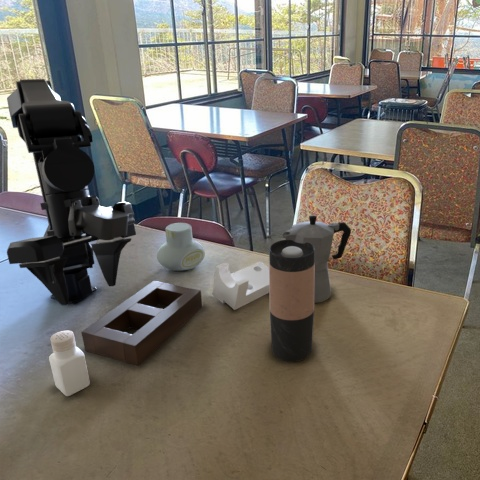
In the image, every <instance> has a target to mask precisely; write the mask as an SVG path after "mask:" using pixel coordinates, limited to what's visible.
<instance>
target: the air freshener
mask: <svg viewBox="0 0 480 480" xmlns="http://www.w3.org/2000/svg"><path fill="white" fill-rule="evenodd" d="M164 230H165V239H166V242H164V243H163V244H162V245H161V246H160V247H159V248H158V250H157V252H156V260H157V262H158V263H159V265H160V266H162V267H163V268H165V269H167V270H170V271H176V272H177V271H178V272H183V271H189V270H193V268H195V267H197V266H198V265H200V264H201V263H202V261H203V260H204V258H205V255H206V254H205V253H206V252H205V248H204V246H203V245H202V244H201V243H200V242H198V241H196V240H194V239H193V229H192V225H191V224H189V223H186V222H175V223H170V224H168V225H167V226H166V227H165V229H164Z"/></svg>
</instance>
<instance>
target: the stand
mask: <svg viewBox="0 0 480 480" xmlns="http://www.w3.org/2000/svg"><path fill="white" fill-rule="evenodd" d="M202 299H203V298H202V290H201V289H195V288H191V287H187V286H183V285H182V286H181V285H176V284H172V283H167V282H162V281H158V280H153V281H151V282H150V283H148V284H147V285H146V286H144V287H142V288H141V289H140V290H138V291H137V292H136V293H134V294H133V295H131V296H130V297H128V298H127V299H125V300H124V301H122V302H121V303H120V304H119V305H117V306H115V307H114V308H113V309H111V310H110V311H109V312H107V313H105V314H104V315H103V316H101V317H100V318H99V319H97V320H96V321H94V322H92V323H91V324H90V325H88V326H87V327H86V328H84V329H83V330H82V331H81V337H82V342H83V347H84V351H85V352H87V353H88V352H89V353H92V354H96V355H98V356H102V357H106V358H110V359H113V360H117V361H121V362H123V363H127V364H131V365H135V366H140V364H142V363H143V362H144V361H145V360H146V359H147V358H148V357H150V356H151V355H152V354H153V352H155V351H156V350H157V349H158V348H160V346H161V345H163V344H164V343H165V342H166V341H167V340H168V339H169V338H170V337H171V336H172V335H174V334H175V333H176V332H177V331H178V330H179V329H180V328H181V327H182V326H183V325H185V324H186V323H187V322H188V321H189V320H190V319H191V318H192V317H193V316H195V315H196V314H197V313H198V312H199V311H201V309H202V308H203V301H202ZM158 306H162V307H165V308H164V309H163V308H159V307H158ZM131 328H132V329H135V330H136V331H135V332H134V333H133V334H132V333H128V332H127V331H128V330H129V329H131Z"/></svg>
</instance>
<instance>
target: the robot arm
mask: <svg viewBox="0 0 480 480" xmlns="http://www.w3.org/2000/svg"><path fill="white" fill-rule="evenodd" d="M15 85H16V89H15V90H14V91H13V92H11V93H10V94H9V95H8V96H7V98H6V101H7V106H8V112H9V117H10V121H11V125H12V128H13V129H16V128H17V132H18V136H19V137H20V139H21V140H22V141H23V142H24V143H25V146H26V149H27V153H28V154H32V156H33V157H32V158H33V160H34V166H35V169H36V170H35V171H36V174H37V178H38V184H39V188H40V192H41V197H42V201H43V202H40V209H41V211H45V214H46V219H47V223H48V225H47V227H46V230H45V232H44V234H43V236H37V237H30V238H26V239H21V240H17V241H12V242H10V243H9V245H8V248H6V249H7V250H6V255H7V259H8V263H9V265H17V264H18V266H19V268H20V269H27V270H28V271H29V272H30V273H31V274H32V275H33V276H34V277H36V278H37V279H38V281H39V282H40V283H41V284H42V285H43V286H44V287H45V288H46V289H47V290H48V291H49V293H50V294H51V295H50V299H51V300H56V301H57V302H58V303H59V304H60V305H61V306H68V305H70V304H72V305H74V304H77V303H79V302H81V301H83V300H84V299H86V298H87V297H88V296H90V295H92V294H94V293H95V292H97V291H98V287H96V286H92V283H91V278H90V275H89V272H88V269H93V267H94V265H95V258H96V261H97V263H98V266H99V268H100V271H101V273H102V276H103V279H104V280H105V282H106V284H107V286H108V287H115V286H116V283H117V279H118V278H117V277H118V271H119V264H120V263H119V262H120V258H121V254H122V251H123V249H124V248H125V247H126V245H128V243H130V242H131V241H132V238H130V237H133V236H136V235H137V232H136V226H135V220H136V219H135V213H134V209H133V206H132V203H130V202H127V201H120V202H119V201H118V202H116V203H114V204H113V205H112V206H107V207H106V206H101V203H100V199H99V198H98V196H97V195H91V194H90V189H89V185H90V183H92V180H93V179H94V177H95V165H94V161H93V160H92V158H91V157H90V156H89V155H88V154H87V152H85V151H84V150H82V149H86V148H87V149H88V148H90V147H91V146H92V145H91V143H93V134H92V131H91V129H90V126H89V125H88V122H87V119H86V117H84V116H83V115H82V112H81V111H80V110H76V109H75V105H74V104H73V103H72V102H70V101H68V100H61V96H60V94H58V93H57V92H56V91H54V89H53V88H52V84H51V81H50V80H46V79H45V78H32V79H31V78H28V79H27V78H26V79H25V78H24V79H22V78H21V79H20V80H17V81H15ZM90 243H91V244H90ZM94 256H95V258H94Z"/></svg>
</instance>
